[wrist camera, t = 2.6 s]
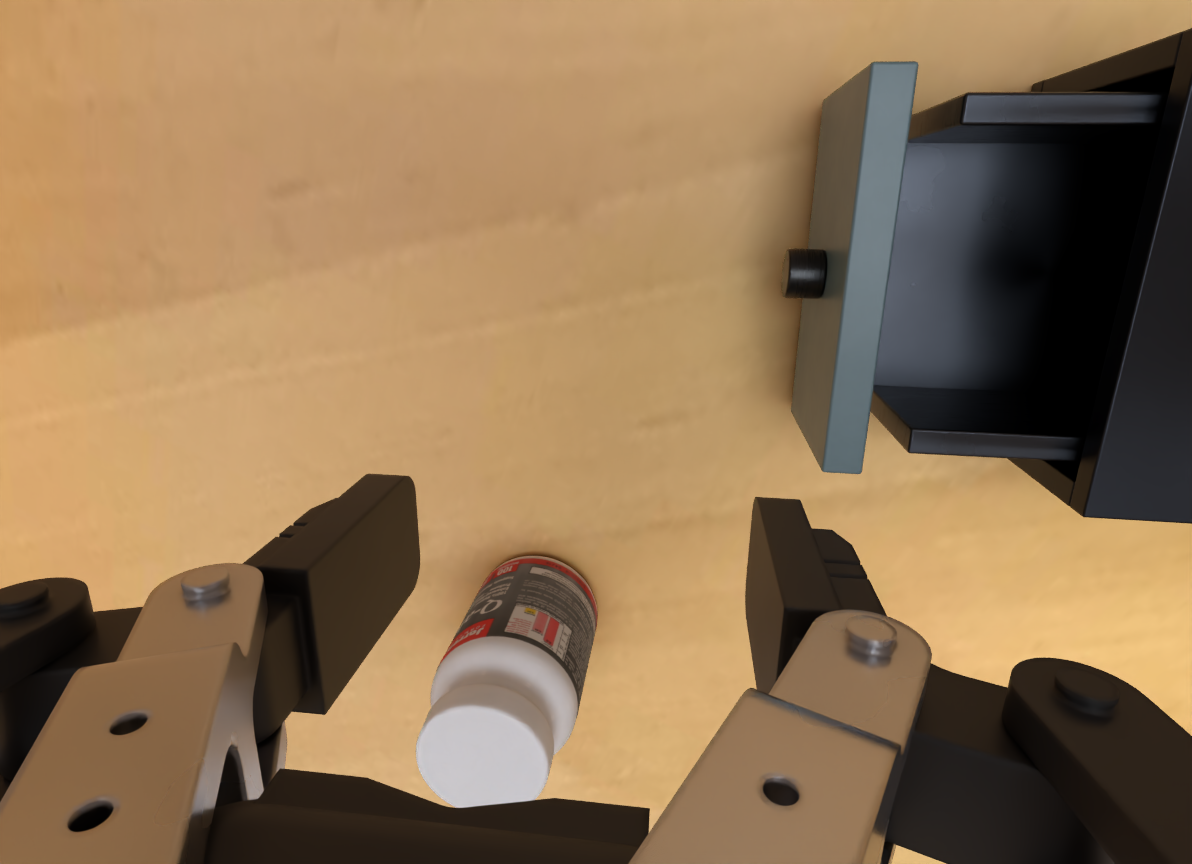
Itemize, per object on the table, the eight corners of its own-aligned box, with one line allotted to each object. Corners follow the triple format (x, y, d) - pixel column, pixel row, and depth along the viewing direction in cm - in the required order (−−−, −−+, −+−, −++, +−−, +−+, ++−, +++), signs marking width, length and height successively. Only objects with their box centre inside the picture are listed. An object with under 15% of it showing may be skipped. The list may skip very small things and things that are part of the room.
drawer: (759, 410, 28) (782, 471, 22) (787, 99, 25) (824, 61, 18) (1155, 428, 27) (1305, 499, 20) (1244, 98, 23) (1461, 56, 17)
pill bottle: (503, 532, 32) (429, 665, 23) (617, 579, 32) (590, 732, 23) (464, 629, 34) (381, 789, 25) (572, 674, 34) (530, 851, 25)
